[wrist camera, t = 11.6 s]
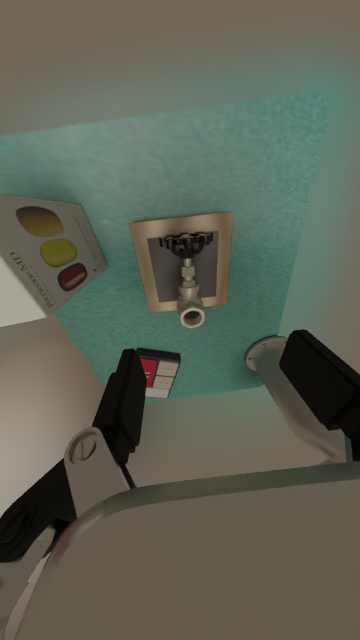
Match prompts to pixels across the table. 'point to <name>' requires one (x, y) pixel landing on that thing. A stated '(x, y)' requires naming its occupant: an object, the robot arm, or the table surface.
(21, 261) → the supplement box
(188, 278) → the valve
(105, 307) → the table surface
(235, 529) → the robot arm
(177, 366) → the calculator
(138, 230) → the tapered tan tray
